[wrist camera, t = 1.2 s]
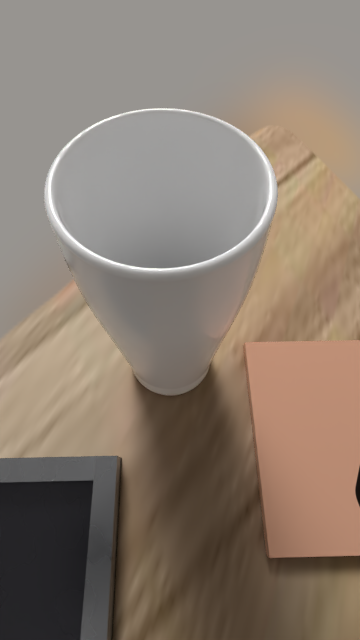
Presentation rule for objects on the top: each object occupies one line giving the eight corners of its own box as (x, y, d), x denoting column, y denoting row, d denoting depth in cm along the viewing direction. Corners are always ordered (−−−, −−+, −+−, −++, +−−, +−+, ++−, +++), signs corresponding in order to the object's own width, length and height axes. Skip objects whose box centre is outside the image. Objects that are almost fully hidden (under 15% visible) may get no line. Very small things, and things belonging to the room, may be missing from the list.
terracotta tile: (451, 550, 18) (461, 552, 18) (266, 555, 18) (269, 557, 17) (386, 343, 24) (392, 339, 23) (243, 346, 23) (245, 342, 23)
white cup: (205, 305, 25) (237, 91, 11) (233, 394, 22) (323, 249, 8) (113, 325, 24) (31, 121, 11) (130, 421, 21) (48, 306, 8)
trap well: (106, 751, 15) (98, 779, 13) (-124, 758, 15) (-155, 787, 13) (121, 457, 20) (117, 455, 19) (-48, 461, 20) (-65, 460, 19)
